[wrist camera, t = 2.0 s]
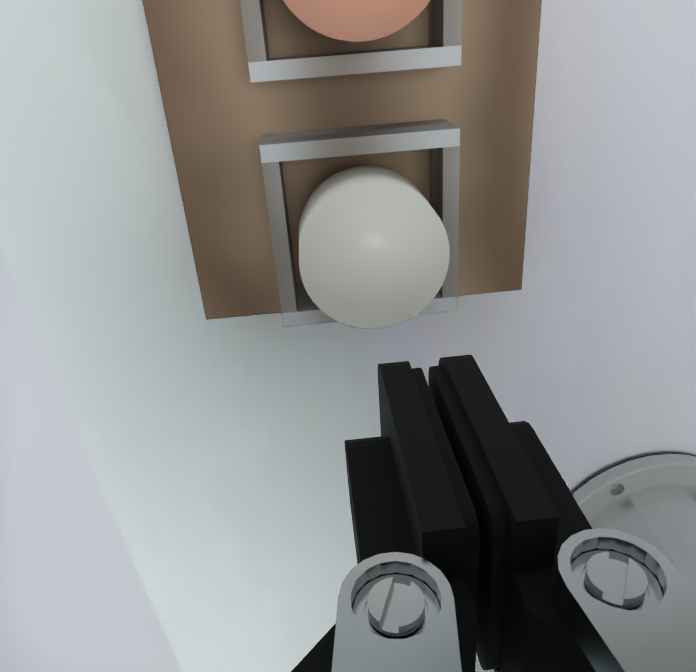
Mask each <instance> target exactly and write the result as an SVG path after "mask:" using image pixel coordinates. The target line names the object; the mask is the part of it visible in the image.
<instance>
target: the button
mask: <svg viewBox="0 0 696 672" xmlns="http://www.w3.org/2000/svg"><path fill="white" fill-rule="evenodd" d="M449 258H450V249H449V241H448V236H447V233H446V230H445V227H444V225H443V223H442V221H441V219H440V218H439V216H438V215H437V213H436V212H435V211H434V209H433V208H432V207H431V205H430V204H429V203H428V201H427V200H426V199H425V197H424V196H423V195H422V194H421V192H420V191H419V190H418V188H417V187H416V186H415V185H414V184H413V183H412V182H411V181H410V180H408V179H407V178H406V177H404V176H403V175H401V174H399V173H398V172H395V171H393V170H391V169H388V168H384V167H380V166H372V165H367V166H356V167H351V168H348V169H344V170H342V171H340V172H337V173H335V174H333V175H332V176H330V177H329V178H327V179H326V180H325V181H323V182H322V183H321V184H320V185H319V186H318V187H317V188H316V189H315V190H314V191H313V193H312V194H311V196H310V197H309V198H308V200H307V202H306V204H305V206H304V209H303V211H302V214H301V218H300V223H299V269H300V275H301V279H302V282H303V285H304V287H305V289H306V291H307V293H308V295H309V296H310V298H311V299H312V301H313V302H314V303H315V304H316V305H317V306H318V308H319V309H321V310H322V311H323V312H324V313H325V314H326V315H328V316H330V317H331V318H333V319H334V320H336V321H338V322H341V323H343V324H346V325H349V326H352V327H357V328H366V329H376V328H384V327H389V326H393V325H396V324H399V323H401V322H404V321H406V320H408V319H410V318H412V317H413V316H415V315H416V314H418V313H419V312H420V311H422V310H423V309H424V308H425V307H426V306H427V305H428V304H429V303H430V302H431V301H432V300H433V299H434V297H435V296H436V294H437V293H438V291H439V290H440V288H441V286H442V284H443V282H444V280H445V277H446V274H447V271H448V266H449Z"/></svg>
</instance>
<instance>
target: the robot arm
mask: <svg viewBox="0 0 696 672" xmlns="http://www.w3.org/2000/svg"><path fill="white" fill-rule="evenodd" d="M378 385H379V404H380V423H381V437H373V438H363V439H354V440H345V452H346V463H347V474H348V484H349V494H350V504H351V513H352V521H353V530H354V538H355V546H356V554H357V563H358V565H357V566H355V567H354V568H353V569H351V571H350V572H349V574H348V575H347V576H346V578H345V579H344V581H343V582H342V586H341V589H340V593H339V597H338V607H337V618H336V624H335V625H334V626H333V627H332V628H331V629H330V630H329V631H328V632H327V633H326V635H325V636H324V637H323V638H322V639H321V640H320V641H319V642H318V643H317V644H316V645H315V646H314V648H313V649H312V650H311V651H310V652H309V653H308V654H307V655H306V656H305V657H304V658H303V660H302V661H301V662H300V663H299V664H298V665H297V666H296V667H295V668H294V669H293V670H292V671H291V672H475V661H476V652H477V655H478V659H479V662H480V665H481V667H482V669H483V670H490V669H494V671H495V672H696V457H695V456H691V455H683V454H662V455H652V456H646V457H643V458H639V459H635V460H631V461H627V462H625V463H622V464H620V465H617V466H615V467H612V468H610V469H608V470H606V471H605V472H603V473H601V474H599V475H598V476H596V477H594V478H592V479H591V480H590V481H588V482H587V483H586V484H584V485H583V486H582V487H580V488H579V489H578V490H577V491H576V492H575V493H574V494H573V495H572V493H571V492H570V490H569V488H568V487H567V485H566V483H565V482H564V480H563V478H562V477H561V475H560V473H559V472H558V470H557V468H556V467H555V465H554V463H553V462H552V460H551V458H550V457H549V455H548V453H547V452H546V450H545V448H544V446H543V445H542V443H541V441H540V440H539V438H538V436H537V435H536V433H535V431H534V430H533V428H532V427H531V426H530V424H529V423H527V422H525V421H521V422H512V423H509V422H508V420H507V418H506V417H505V415H504V413H503V411H502V409H501V407H500V406H499V404H498V402H497V400H496V398H495V396H494V395H493V393H492V391H491V389H490V387H489V385H488V384H487V382H486V380H485V378H484V376H483V374H482V373H481V371H480V369H479V367H478V365H477V363H476V361H475V360H474V358H473V356H472V355H463V356H453V357H443V358H440V360H439V366H433V367H430V368H429V387H428V384H427V381H426V379H425V376H424V373H423V371H422V369H421V368H414V369H411V366H410V363H409V361H404V362H395V363H385V364H378Z"/></svg>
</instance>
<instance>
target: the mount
mask: <svg viewBox="0 0 696 672" xmlns="http://www.w3.org/2000/svg"><path fill="white" fill-rule="evenodd" d="M541 1H542V0H430V2H429V3H428V4H427V6H426V7H425V8H424V9H423V10H422V11H421V13H420V14H419V15H418V16H417V17H416V18H415V19H413V20H412V21H411V22H410V23H409V24H407V25H406V26H404V27H403V28H401V29H400V30H398V31H396V32H394V33H392V34H390V35H388V36H385V37H382V38H379V39H376V40H370V41H360V42H351V41H344V40H338V39H333V38H330V37H326V36H324V35H321V34H319V33H317V32H315V31H313V30H312V29H310V28H308V27H307V26H305V25H304V24H303V23H302V22H301V21H300V20H298V19H297V18H296V17H295V16H294V14H293V13H292V12H291V11H290V10H289V9H288V7H287V6H286V4H285V3H284V2H283V0H143V5H144V10H145V15H146V20H147V25H148V30H149V35H150V41H151V46H152V51H153V56H154V61H155V66H156V71H157V76H158V81H159V86H160V91H161V96H162V101H163V106H164V111H165V116H166V121H167V126H168V131H169V136H170V141H171V146H172V151H173V156H174V161H175V166H176V171H177V176H178V181H179V186H180V191H181V196H182V201H183V206H184V211H185V216H186V221H187V226H188V231H189V236H190V241H191V246H192V251H193V256H194V261H195V266H196V271H197V276H198V281H199V286H200V291H201V296H202V301H203V306H204V311H205V316H206V320H207V319H218V318H228V317H239V316H249V315H260V314H270V313H281V312H282V319H283V327H288V326H298V325H309V324H319V323H330V322H338V321H336V320H334V319H333V318H331V317H330V316H328V315H326V314H325V313H324V312H323V311H322V310H321V309H319V308H318V306H317V305H316V304H315V303H314V302H313V301H312V299H311V298H310V296H309V295H308V293H307V291H306V289H305V287H304V285H303V282H302V279H301V275H300V269H299V223H300V218H301V214H302V211H303V209H304V206H305V204H306V202H307V200H308V198H309V197H310V196H311V194H312V193H313V191H314V190H315V189H316V188H317V187H318V186H319V185H320V184H321V183H322V182H323V181H325V180H326V179H327V178H329V177H330V176H332V175H333V174H335V173H337V172H340V171H342V170H344V169H348V168H351V167H356V166H367V165H372V166H380V167H384V168H388V169H391V170H393V171H395V172H398V173H399V174H401V175H403V176H404V177H406V178H407V179H408V180H410V181H411V182H412V183H413V184H414V185H415V186H416V187H417V188H418V190H419V191H420V192H421V194H422V195H423V196H424V197H425V199H426V200H427V201H428V203H429V204H430V205H431V207H432V208H433V209H434V211H435V212H436V213H437V215H438V216H439V218H440V219H441V221H442V223H443V225H444V227H445V230H446V233H447V236H448V241H449V249H450V258H449V266H448V271H447V274H446V277H445V280H444V282H443V284H442V286H441V288H440V290H439V291H438V293H437V294H436V296H435V297H434V299H433V300H432V301H431V302H430V303H429V304H428V305H427V306H426V307H425V308H424V309H423V310H422V311H420V312H419V313H418V314H424V313H434V312H444V311H455V310H457V296H460V295H470V294H481V293H491V292H502V291H512V290H521V287H522V273H523V258H524V244H525V230H526V215H527V201H528V187H529V172H530V158H531V144H532V129H533V115H534V101H535V87H536V72H537V58H538V44H539V29H540V15H541Z"/></svg>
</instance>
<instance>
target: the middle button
mask: <svg viewBox="0 0 696 672" xmlns="http://www.w3.org/2000/svg"><path fill="white" fill-rule="evenodd" d="M283 2H284V3H285V4H286V6H287V7H288V9H289V10H290V11H291V12H292V13H293V14H294V16H295V17H296V18H297V19H298V20H300V21H301V22H302V23H303V24H304V25H305V26H307V27H308V28H310V29H312V30H313V31H315V32H317V33H319V34H321V35H324V36H326V37H330V38H333V39H338V40H344V41H351V42H360V41H370V40H376V39H379V38H382V37H385V36H388V35H390V34H392V33H394V32H396V31H398V30H400V29H401V28H403V27H404V26H406V25H407V24H409V23H410V22H411V21H412V20H413V19H415V18H416V17H417V16H418V15H419V14H420V13H421V11H422V10H423V9H424V8H425V7H426V6H427V4H428V3H429V2H430V0H283Z"/></svg>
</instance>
